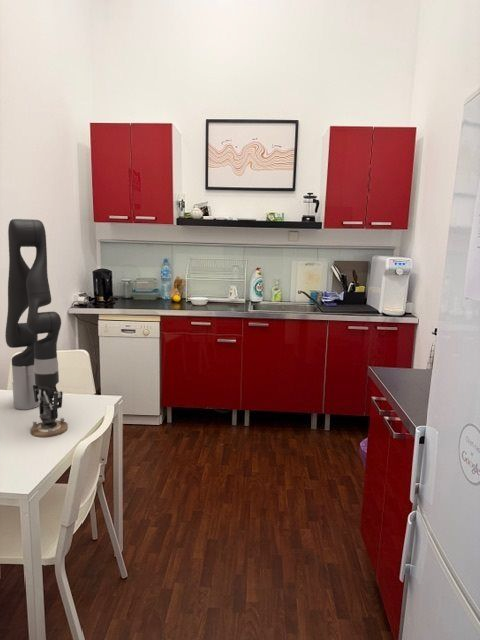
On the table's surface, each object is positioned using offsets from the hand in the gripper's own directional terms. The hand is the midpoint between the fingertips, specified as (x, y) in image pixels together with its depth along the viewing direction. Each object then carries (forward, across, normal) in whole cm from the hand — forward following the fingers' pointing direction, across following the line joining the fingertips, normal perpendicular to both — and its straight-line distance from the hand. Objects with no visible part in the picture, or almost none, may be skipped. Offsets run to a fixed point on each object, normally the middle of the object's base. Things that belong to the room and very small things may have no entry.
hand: (48, 416), depth 157 cm
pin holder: (+5, 0, 0) cm, 5 cm away
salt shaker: (+3, 0, 0) cm, 3 cm away
